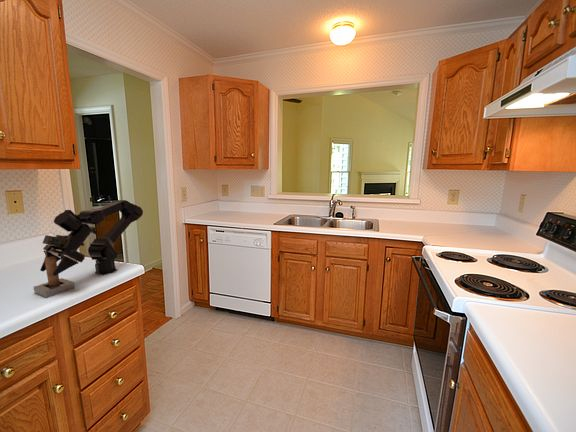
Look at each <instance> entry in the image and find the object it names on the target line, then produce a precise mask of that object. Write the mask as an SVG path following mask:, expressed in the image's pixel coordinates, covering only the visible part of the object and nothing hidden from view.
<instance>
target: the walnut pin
mask: <svg viewBox="0 0 576 432" xmlns="http://www.w3.org/2000/svg"><path fill="white" fill-rule="evenodd" d="M44 260H45V266H46V270H45V271H46V278H47V283H48V284H49V288H52V287H55V286H58V285H60V281H59V279H60V276H59V274H58V275H56V276H55V275H53V272H54V270H55V269H56V267H57V266H58V262H56V257H47V258H45V257H44ZM44 260H43V261H44Z"/></svg>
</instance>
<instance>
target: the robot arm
mask: <svg viewBox="0 0 576 432" xmlns="http://www.w3.org/2000/svg"><path fill="white" fill-rule="evenodd" d="M118 212H119V213H121V217H120V218H119V220H117V222H116V223H115V224H114V225H113V226H112V227H111V228H110V229H109V231H108V232H107V233H106V234H105V235H104V236H103V237H101V238H99V237H96V238H93V241H92V242H91V243H89V246H88V248H87V250H88V251H87V252H88V256H90V259H91V260H92V261H95V263H94V268H95V271H94V273H95V274H98V275H102V276H105V275H107V274H111V273H113V272H117V271H118V269H117V268H116V263H115V260H116V258H118V252H117V251H116V250H114V249H115V243H116V242H117V241H118V239H119V238H120V237H121V236H122V234H124V232H125V231H126V230H127V229H128V227H129V226H130V225H131V224H132V223H134V222H135V221H138V220H139V219H141V218H142V217H143V215H144V210H143V209H142V207H141V206H138V205H136V204H135V203H131V202H130V201H128V200H126V199H117V200H115V201H114V202H112V203H108V204H106V205H103V206H100V207H99V208H94V209H93V208H92V209H87V210H81V211H80V212H79V214H75V212H73V210H71V209H65V210H64V211H63V212H61V213H59V214H58V215H57V216H56V215H55V217H54V219H53V223H54V224H55V225H56V226H58V227H60V228H61V229H63V230H65V232H69V233H68V235H67V234H66V235H61V234H57V235H56V236H52V235H47V234H45V235H44V239H43V240H42V244H43V245H44V244H45V246H44V247H43V248H42V250H43V253H44V256H45V257H44V259H45V258H47V257H56V263H57V267H56V269H55V270H54V272H53V275H55V276H56V275H59V274H61V273H63V272H64V271H66V270H68V269H70V268H72V267H74V266H76V265H79V263H83V261H84V260H85V258H86V256H85V254H83V253H81V252H79V251H78V250H79V249H80V247H84V246H85V241H86V240H87V238H88V237H89V236H90V235H91V234H92V235H97V229H96V227H95V226H96V225H99V224H101V223H102V222H103V221H104V220H105V219H106V218H107V217H109V216H111V215H114V214H115V213H118ZM90 225H95V226H90ZM58 262H59V263H58ZM41 264H42V265H41V268H40V272H42V273H43V272H45V271H46V266H45V260H43V262H42V263H41Z"/></svg>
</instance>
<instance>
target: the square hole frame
mask: <svg viewBox="0 0 576 432" xmlns="http://www.w3.org/2000/svg"><path fill="white" fill-rule="evenodd" d="M59 281H60V285H58V286H55V287H52V288H49V284H48V282H45V283H41V284H38V285H34V286H33V291H34V294H36V295H38V296H41V297H44V298H45V299H47V298H50V297H54V296H57V295H60V294H61V293H64V292H68V291H72V290H74V289H75V288H76V287H75V282H74V281H71V280H68V279H65V278H62V277H61V278H59Z"/></svg>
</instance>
